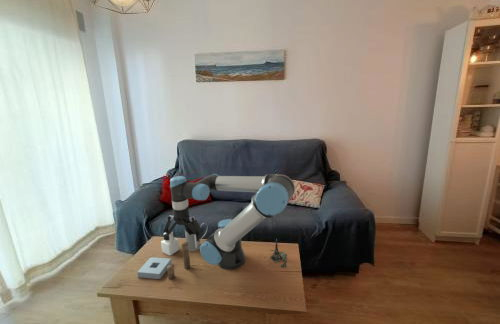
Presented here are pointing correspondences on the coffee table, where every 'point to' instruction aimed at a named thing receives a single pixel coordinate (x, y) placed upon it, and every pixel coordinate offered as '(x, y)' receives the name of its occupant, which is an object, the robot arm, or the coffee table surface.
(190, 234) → the grey black mug
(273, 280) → the coffee table surface
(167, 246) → the medicine bottle
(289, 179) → the robot arm
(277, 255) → the grey-green irregular piece
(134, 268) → the coffee table surface
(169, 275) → the short pin
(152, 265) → the collar plate
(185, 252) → the long pin
